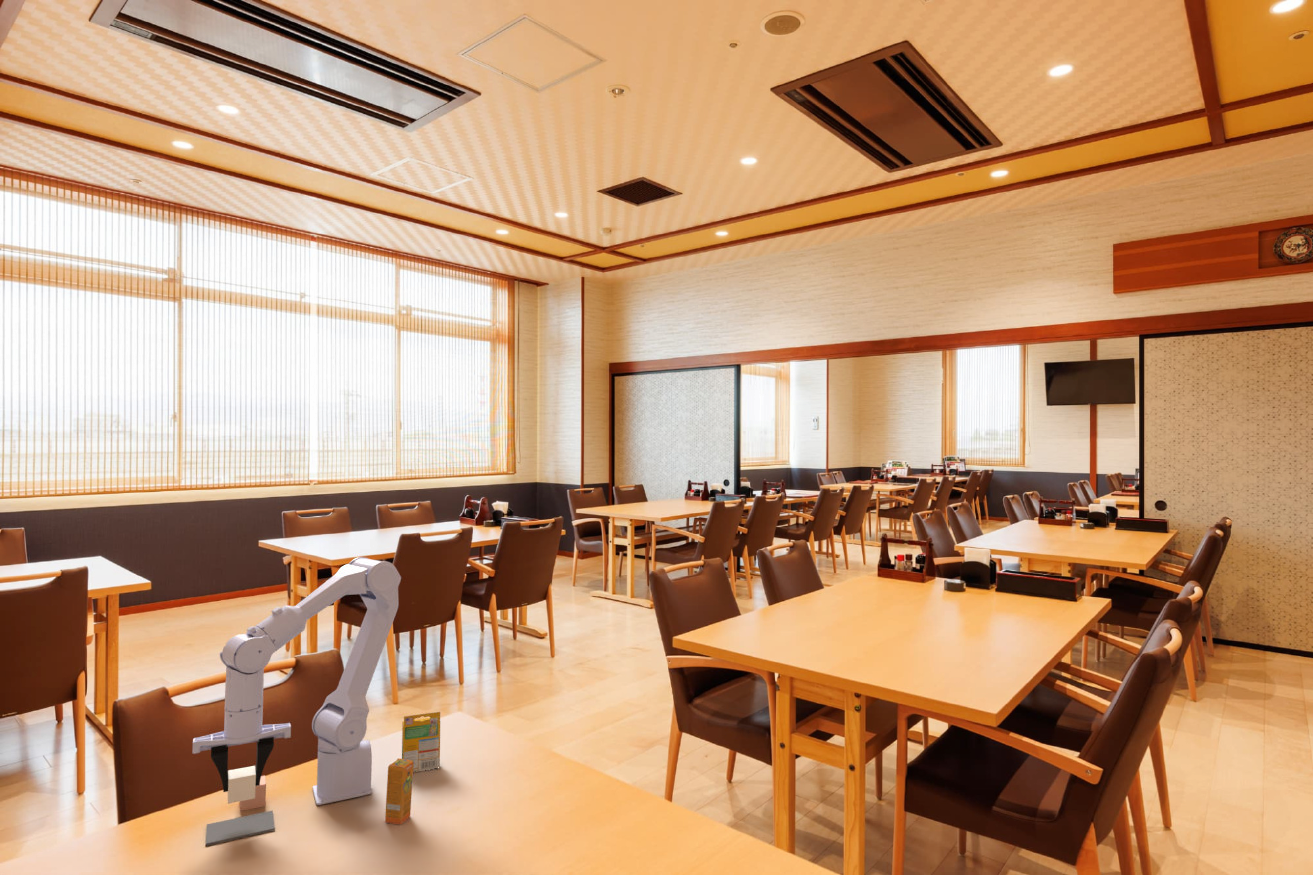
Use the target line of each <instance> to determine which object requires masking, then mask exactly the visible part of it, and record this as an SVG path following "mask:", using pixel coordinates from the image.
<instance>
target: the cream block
mask: <svg viewBox="0 0 1313 875" xmlns="http://www.w3.org/2000/svg"><path fill="white" fill-rule="evenodd" d="M255 769H256V765H252V766H247V767H246V766H245V767H241V768H235V769H229V770H228V791H227V804H229V805H230V804H233V803H238V802H239V803H240V801H244V800H249V799H254V798H255V785H256V771H255Z"/></svg>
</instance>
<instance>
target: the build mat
mask: <svg viewBox="0 0 1313 875" xmlns="http://www.w3.org/2000/svg"><path fill="white" fill-rule="evenodd" d="M275 830H276V828H275V818H274V811H273V810H269V811H264V812H259V813H254V814H249V815H245V816H240V817H235V818H230V819H226V820H221V821H216V822H213V823H207V824H206V830H205V831H206V832H205V847H208V846H212V845H216V844H221V843H225V842H230V841H234V840H239V839H243V838H247V837H253V836H256V835H261V834H266V833H269V832H270V833H271V832H275Z"/></svg>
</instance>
